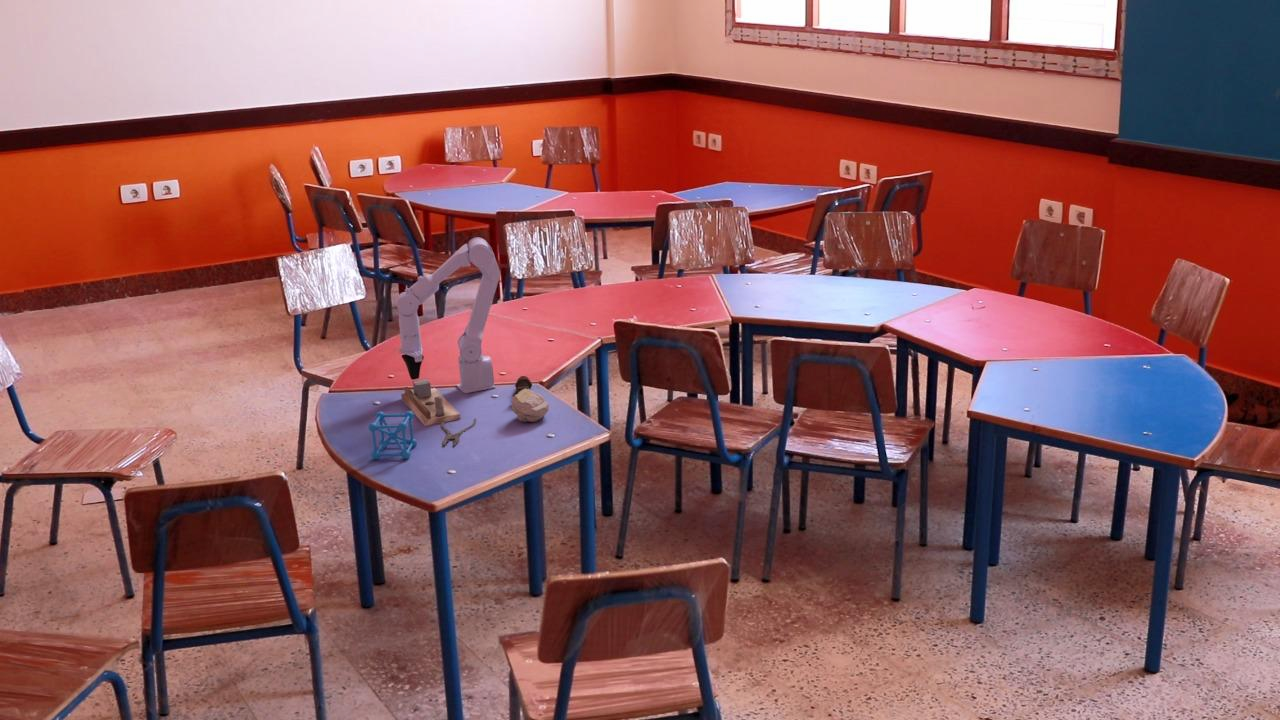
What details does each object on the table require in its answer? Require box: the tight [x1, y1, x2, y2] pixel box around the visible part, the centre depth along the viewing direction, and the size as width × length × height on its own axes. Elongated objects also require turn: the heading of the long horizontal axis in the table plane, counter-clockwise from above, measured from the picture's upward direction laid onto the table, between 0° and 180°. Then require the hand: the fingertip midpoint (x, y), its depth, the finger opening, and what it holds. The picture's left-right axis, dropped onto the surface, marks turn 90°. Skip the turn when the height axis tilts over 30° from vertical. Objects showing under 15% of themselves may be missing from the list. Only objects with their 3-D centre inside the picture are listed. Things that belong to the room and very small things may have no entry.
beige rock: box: [511, 389, 550, 423], centre depth 334 cm, size 12×8×10 cm
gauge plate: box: [400, 386, 461, 427], centre depth 344 cm, size 10×24×6 cm, turn 25°
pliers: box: [440, 417, 477, 448], centre depth 328 cm, size 10×1×20 cm
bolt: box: [512, 375, 533, 397], centre depth 352 cm, size 6×5×15 cm
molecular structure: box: [367, 410, 418, 461], centre depth 315 cm, size 10×10×10 cm
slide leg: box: [412, 378, 432, 398], centre depth 350 cm, size 4×4×4 cm
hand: (414, 378), depth 356 cm, fingers closed
